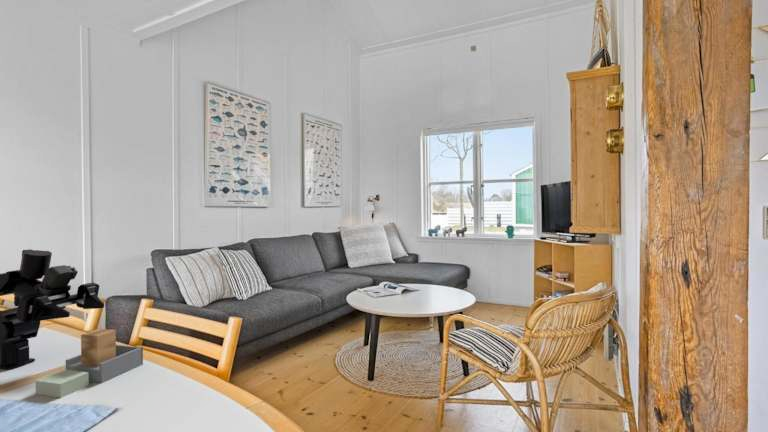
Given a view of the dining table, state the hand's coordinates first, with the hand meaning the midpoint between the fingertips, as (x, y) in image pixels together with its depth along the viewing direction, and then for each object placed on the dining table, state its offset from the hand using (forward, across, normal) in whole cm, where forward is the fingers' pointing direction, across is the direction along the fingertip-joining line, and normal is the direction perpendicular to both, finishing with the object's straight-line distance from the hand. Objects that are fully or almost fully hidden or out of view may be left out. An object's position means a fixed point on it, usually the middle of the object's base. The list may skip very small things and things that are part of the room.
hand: (87, 310), depth 102 cm
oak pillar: (+6, 0, +12) cm, 13 cm away
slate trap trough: (+7, +2, +14) cm, 16 cm away
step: (+7, -9, +14) cm, 18 cm away
